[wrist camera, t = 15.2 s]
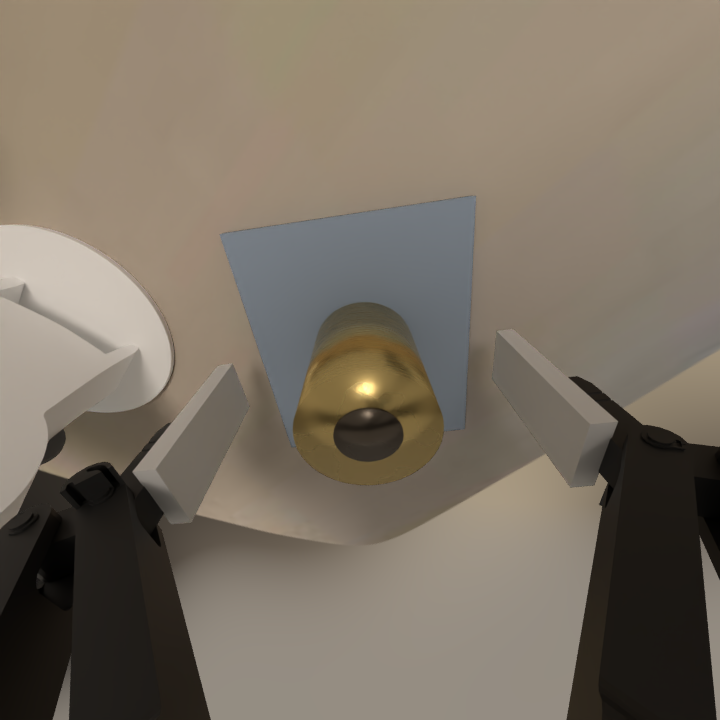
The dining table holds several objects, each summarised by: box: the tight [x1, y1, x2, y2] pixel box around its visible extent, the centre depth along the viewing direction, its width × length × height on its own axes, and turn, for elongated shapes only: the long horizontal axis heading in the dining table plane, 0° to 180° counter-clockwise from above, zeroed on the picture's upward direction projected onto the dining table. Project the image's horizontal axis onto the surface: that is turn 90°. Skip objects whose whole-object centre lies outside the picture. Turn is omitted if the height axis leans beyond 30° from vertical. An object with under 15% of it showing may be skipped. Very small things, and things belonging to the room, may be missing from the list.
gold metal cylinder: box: [293, 302, 444, 485], centre depth 14 cm, size 6×6×7 cm
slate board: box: [220, 196, 476, 447], centre depth 18 cm, size 12×14×1 cm
